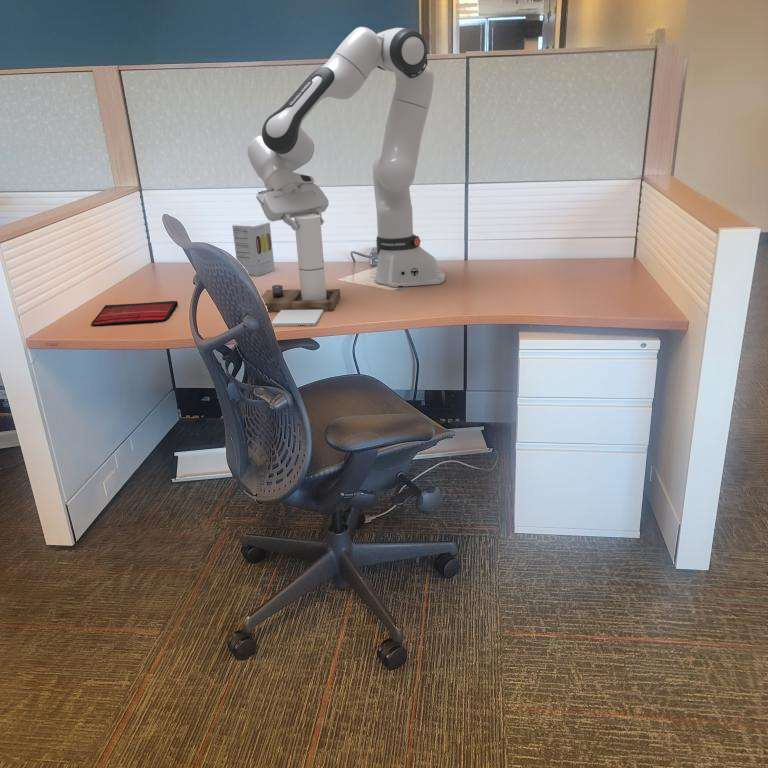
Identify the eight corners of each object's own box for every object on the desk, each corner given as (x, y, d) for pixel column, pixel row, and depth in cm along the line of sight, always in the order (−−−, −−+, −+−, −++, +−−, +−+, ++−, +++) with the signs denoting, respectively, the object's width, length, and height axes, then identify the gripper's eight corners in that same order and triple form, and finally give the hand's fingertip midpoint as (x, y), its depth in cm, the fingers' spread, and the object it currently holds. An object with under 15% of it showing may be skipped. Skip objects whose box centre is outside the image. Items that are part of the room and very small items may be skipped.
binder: (105, 304, 198) (177, 299, 199) (106, 311, 199) (178, 307, 200) (88, 323, 184) (166, 318, 185) (90, 331, 185) (167, 326, 186)
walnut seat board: (340, 297, 201) (339, 278, 199) (333, 311, 188) (331, 291, 186) (268, 298, 203) (266, 280, 201) (256, 312, 190) (253, 293, 188)
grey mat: (323, 312, 187) (323, 309, 187) (315, 325, 176) (315, 322, 176) (281, 312, 189) (280, 310, 188) (270, 326, 178) (270, 323, 177)
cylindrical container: (328, 300, 198) (322, 213, 188) (324, 307, 192) (317, 218, 182) (305, 300, 199) (297, 214, 189) (299, 307, 192) (291, 219, 182)
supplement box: (258, 276, 229) (252, 226, 222) (237, 274, 233) (230, 225, 226) (275, 270, 236) (270, 221, 230) (254, 268, 240) (249, 220, 234)
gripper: (257, 184, 180) (283, 224, 177) (316, 175, 193) (341, 213, 190) (249, 200, 184) (274, 239, 182) (308, 190, 197) (332, 227, 195)
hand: (309, 226), depth 186 cm, fingers closed on cylindrical container, 7 cm apart
